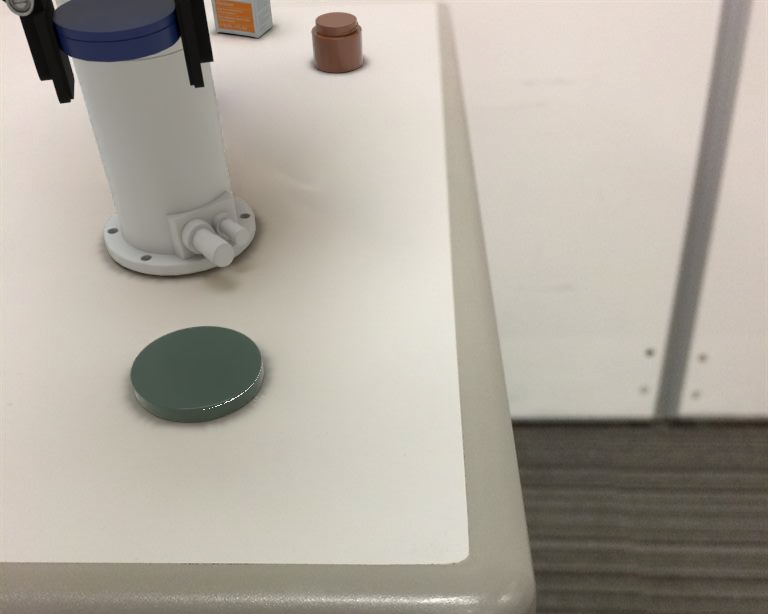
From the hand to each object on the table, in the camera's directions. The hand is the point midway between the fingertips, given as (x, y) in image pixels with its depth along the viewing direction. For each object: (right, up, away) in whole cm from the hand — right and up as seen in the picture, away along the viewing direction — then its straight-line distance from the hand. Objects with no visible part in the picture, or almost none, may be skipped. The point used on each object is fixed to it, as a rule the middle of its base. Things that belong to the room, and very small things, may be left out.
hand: (131, 81), depth 42 cm
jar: (+8, +29, +51) cm, 59 cm away
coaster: (0, -13, +15) cm, 20 cm away
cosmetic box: (-4, +37, +59) cm, 69 cm away
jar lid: (0, +2, -2) cm, 3 cm away
